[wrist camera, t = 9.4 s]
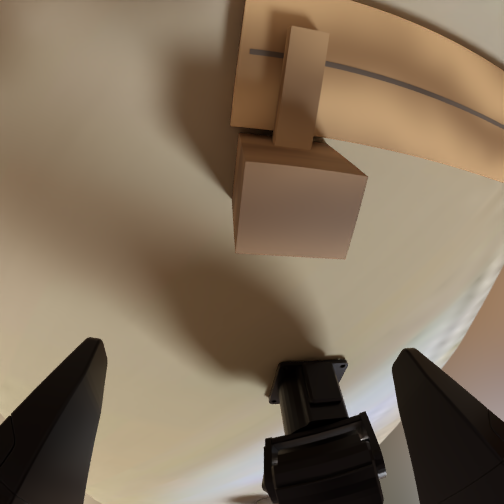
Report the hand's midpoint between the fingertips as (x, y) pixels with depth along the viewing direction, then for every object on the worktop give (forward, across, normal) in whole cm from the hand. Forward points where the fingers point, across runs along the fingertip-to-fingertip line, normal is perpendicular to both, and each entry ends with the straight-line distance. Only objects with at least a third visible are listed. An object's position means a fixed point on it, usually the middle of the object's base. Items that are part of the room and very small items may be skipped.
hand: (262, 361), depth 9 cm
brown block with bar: (+12, -2, -5) cm, 13 cm away
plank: (+12, -9, -9) cm, 17 cm away
